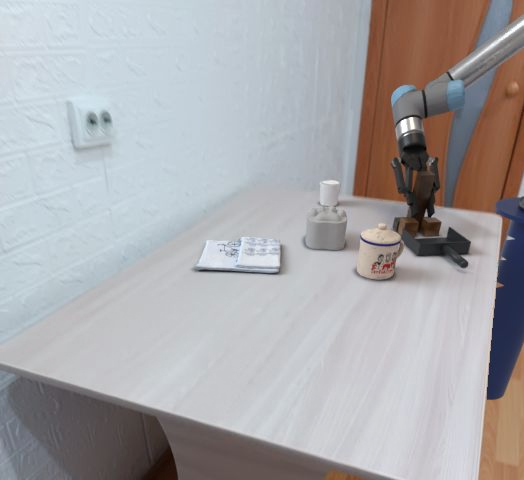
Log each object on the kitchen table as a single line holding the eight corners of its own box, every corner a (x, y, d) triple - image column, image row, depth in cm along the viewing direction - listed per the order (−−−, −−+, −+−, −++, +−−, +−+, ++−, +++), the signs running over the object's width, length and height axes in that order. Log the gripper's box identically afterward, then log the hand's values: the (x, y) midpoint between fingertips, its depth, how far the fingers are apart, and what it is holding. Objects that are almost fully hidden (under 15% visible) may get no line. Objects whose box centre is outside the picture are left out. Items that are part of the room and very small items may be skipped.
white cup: (325, 207, 155) (327, 185, 151) (314, 202, 160) (315, 180, 156) (343, 205, 157) (345, 183, 153) (331, 199, 162) (333, 178, 158)
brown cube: (411, 231, 137) (413, 217, 135) (416, 236, 134) (419, 222, 132) (397, 231, 137) (400, 218, 135) (402, 236, 134) (405, 222, 131)
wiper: (428, 225, 141) (443, 171, 130) (432, 230, 139) (447, 174, 128) (392, 227, 139) (404, 171, 129) (395, 231, 137) (408, 175, 127)
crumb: (432, 230, 138) (435, 217, 136) (438, 235, 135) (441, 221, 133) (419, 231, 138) (422, 217, 135) (425, 236, 134) (428, 222, 132)
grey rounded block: (305, 248, 125) (308, 216, 120) (304, 231, 136) (307, 200, 131) (345, 250, 124) (349, 217, 120) (341, 233, 135) (345, 202, 130)
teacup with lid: (371, 283, 108) (379, 233, 102) (347, 268, 115) (353, 220, 108) (412, 274, 113) (422, 225, 106) (386, 260, 119) (394, 214, 113)
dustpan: (400, 240, 132) (402, 228, 130) (447, 238, 133) (450, 226, 132) (436, 274, 113) (440, 261, 111) (490, 271, 115) (494, 258, 113)
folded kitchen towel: (279, 274, 111) (280, 266, 110) (193, 271, 112) (192, 262, 110) (281, 244, 127) (281, 236, 126) (205, 241, 128) (205, 233, 126)
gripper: (433, 147, 141) (445, 220, 136) (377, 147, 139) (388, 222, 134) (445, 130, 134) (459, 207, 129) (387, 131, 131) (399, 209, 127)
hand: (423, 215), depth 132 cm, fingers closed on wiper, 4 cm apart
